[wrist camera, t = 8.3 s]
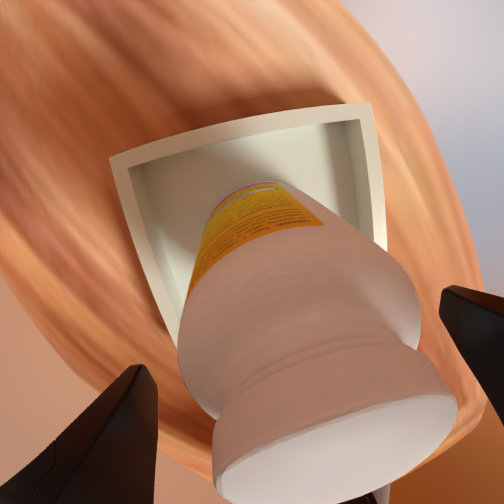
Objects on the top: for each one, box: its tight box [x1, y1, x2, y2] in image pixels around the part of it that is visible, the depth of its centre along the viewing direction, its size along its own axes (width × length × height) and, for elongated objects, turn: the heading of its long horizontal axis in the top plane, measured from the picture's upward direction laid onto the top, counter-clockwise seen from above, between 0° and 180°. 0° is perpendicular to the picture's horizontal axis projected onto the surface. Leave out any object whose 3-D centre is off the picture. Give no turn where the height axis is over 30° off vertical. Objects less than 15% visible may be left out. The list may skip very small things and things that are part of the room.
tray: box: [108, 102, 387, 349], centre depth 15 cm, size 13×13×2 cm
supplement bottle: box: [177, 181, 458, 504], centre depth 10 cm, size 7×7×13 cm
